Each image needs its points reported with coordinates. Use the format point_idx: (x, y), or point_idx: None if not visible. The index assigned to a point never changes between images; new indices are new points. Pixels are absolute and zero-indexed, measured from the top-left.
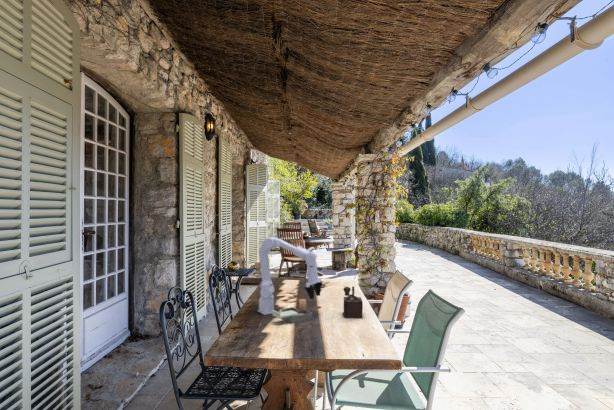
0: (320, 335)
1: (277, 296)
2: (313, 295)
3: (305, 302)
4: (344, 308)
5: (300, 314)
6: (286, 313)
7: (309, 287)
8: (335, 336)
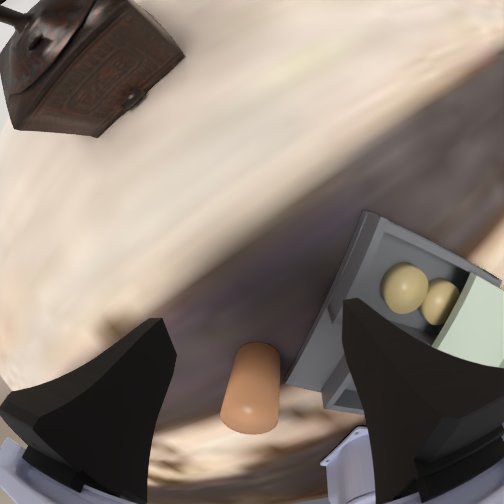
0: (499, 58)
1: (162, 483)
2: (374, 318)
3: (247, 388)
4: (156, 30)
5: (412, 294)
6: (494, 325)
7: (493, 437)
8: (462, 2)
